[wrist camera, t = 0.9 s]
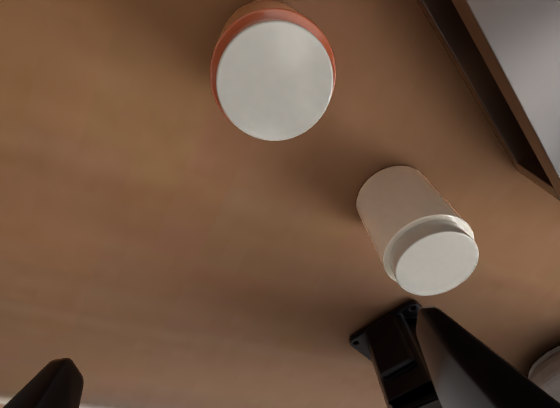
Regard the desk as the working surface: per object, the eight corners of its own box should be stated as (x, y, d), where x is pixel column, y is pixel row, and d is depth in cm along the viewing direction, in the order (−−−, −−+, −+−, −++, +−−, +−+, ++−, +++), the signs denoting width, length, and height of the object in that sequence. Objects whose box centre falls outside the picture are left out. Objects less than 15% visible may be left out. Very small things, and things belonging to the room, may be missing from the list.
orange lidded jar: (332, 56, 19) (368, 89, 13) (264, 119, 20) (271, 172, 15) (269, -26, 17) (280, -27, 11) (198, 50, 18) (178, 82, 13)
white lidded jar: (442, 199, 24) (501, 265, 19) (382, 240, 26) (419, 313, 20) (404, 150, 22) (458, 208, 17) (341, 198, 24) (371, 266, 18)
